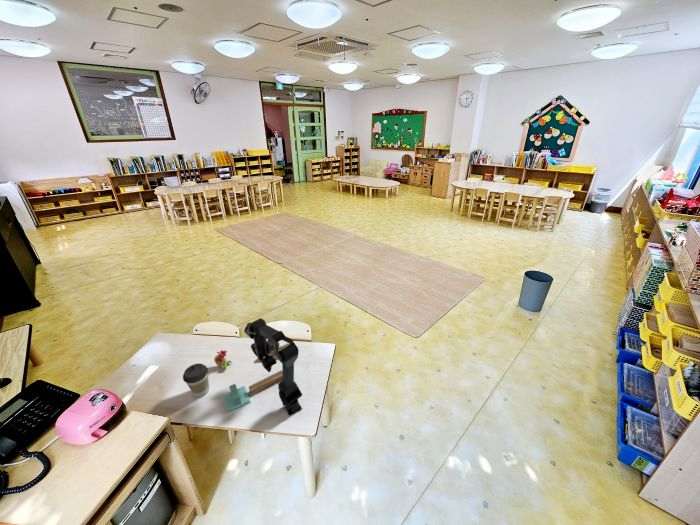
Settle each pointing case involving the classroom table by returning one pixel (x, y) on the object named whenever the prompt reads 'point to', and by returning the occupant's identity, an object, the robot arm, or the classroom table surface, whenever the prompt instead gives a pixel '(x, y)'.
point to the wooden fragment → (272, 353)
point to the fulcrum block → (235, 398)
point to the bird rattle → (221, 359)
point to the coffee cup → (197, 379)
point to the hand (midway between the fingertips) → (265, 366)
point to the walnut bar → (266, 383)
